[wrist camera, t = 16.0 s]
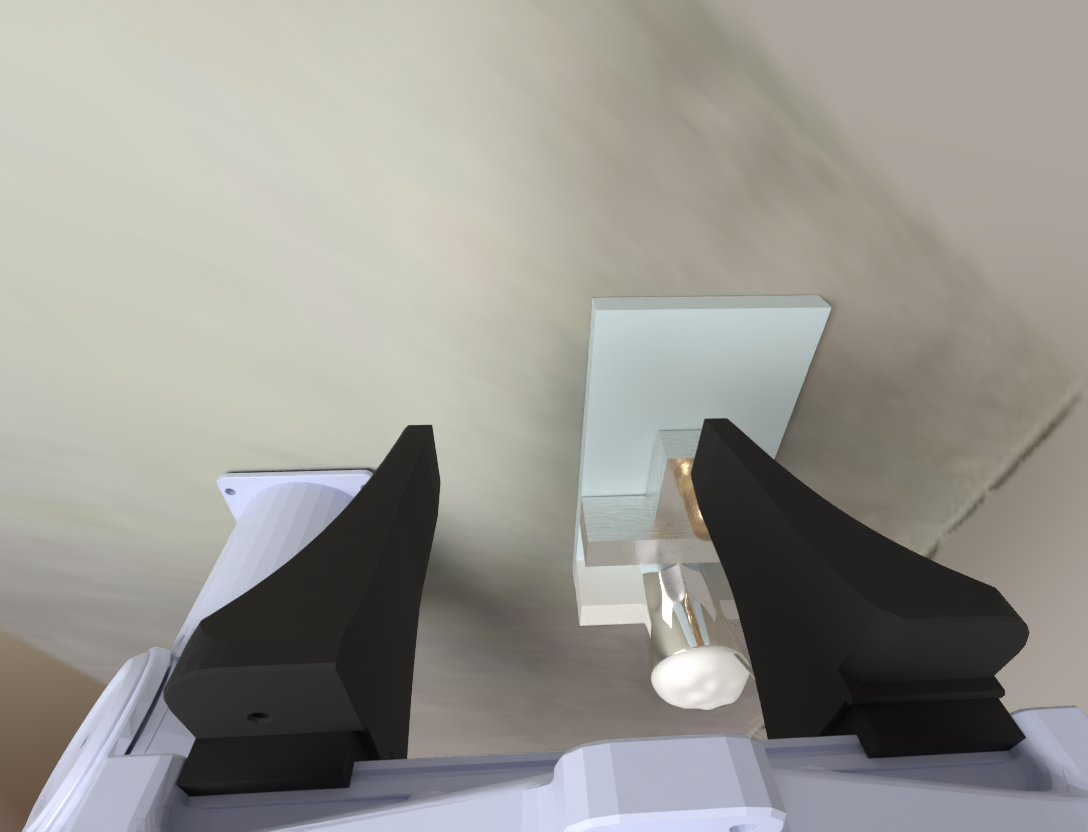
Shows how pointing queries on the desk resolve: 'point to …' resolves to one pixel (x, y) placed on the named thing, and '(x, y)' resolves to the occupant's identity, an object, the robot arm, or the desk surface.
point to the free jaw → (651, 514)
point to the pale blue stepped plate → (681, 403)
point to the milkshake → (690, 638)
